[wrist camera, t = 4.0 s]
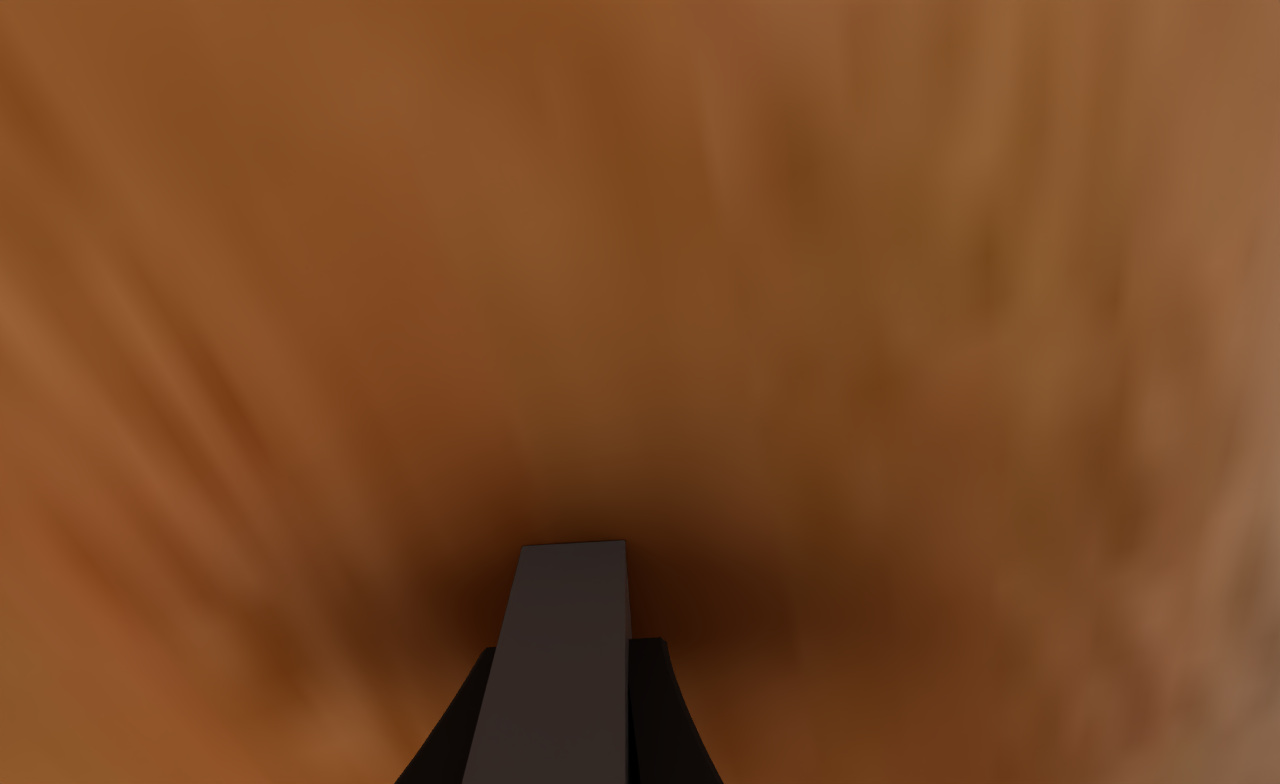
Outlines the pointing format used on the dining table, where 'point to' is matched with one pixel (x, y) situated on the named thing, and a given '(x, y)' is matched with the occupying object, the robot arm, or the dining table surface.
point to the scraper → (560, 673)
